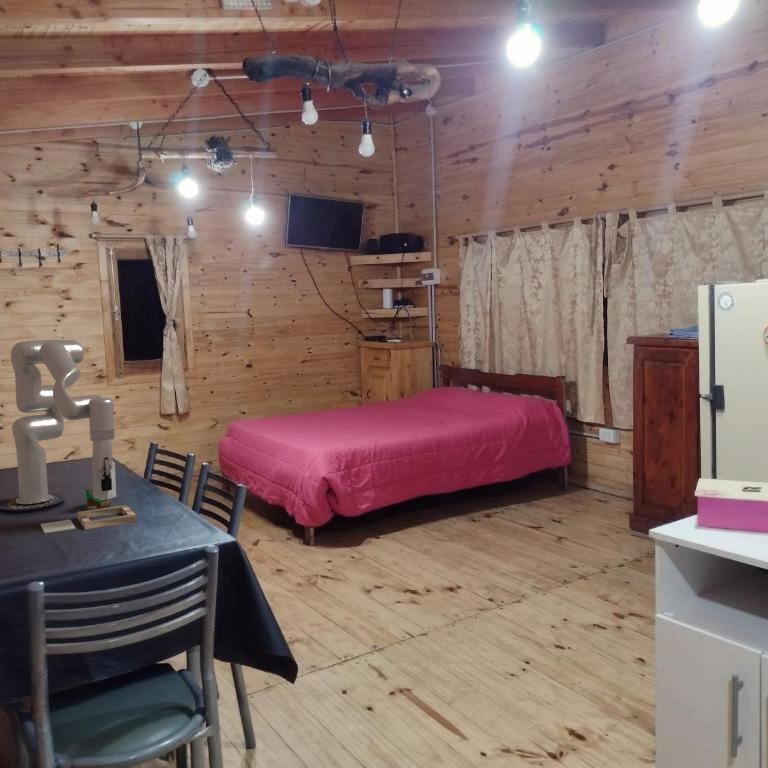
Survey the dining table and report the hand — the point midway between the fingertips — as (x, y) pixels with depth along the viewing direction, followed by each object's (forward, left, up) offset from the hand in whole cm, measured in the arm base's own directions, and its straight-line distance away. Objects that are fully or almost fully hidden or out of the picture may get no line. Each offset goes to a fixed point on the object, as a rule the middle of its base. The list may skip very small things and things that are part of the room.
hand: (104, 487), depth 240 cm
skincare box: (0, 0, -4) cm, 4 cm away
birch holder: (0, 0, -11) cm, 11 cm away
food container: (-17, +2, -11) cm, 20 cm away
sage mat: (0, -15, -11) cm, 18 cm away
